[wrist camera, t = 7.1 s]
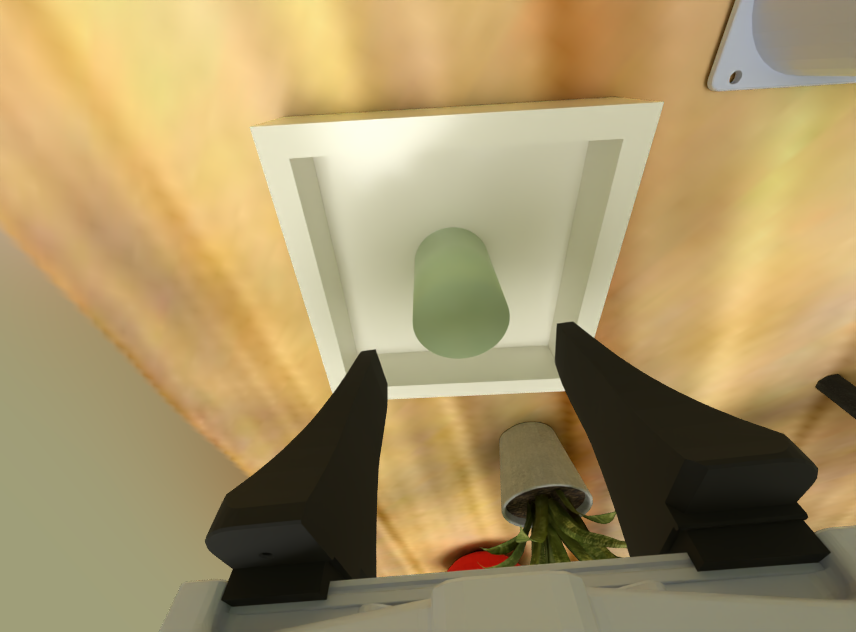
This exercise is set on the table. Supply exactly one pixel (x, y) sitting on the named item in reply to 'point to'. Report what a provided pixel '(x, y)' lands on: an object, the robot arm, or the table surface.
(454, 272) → the cucumber piece
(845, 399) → the solar garden light
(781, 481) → the robot arm
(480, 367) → the serving dish
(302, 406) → the table surface
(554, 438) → the house plant
